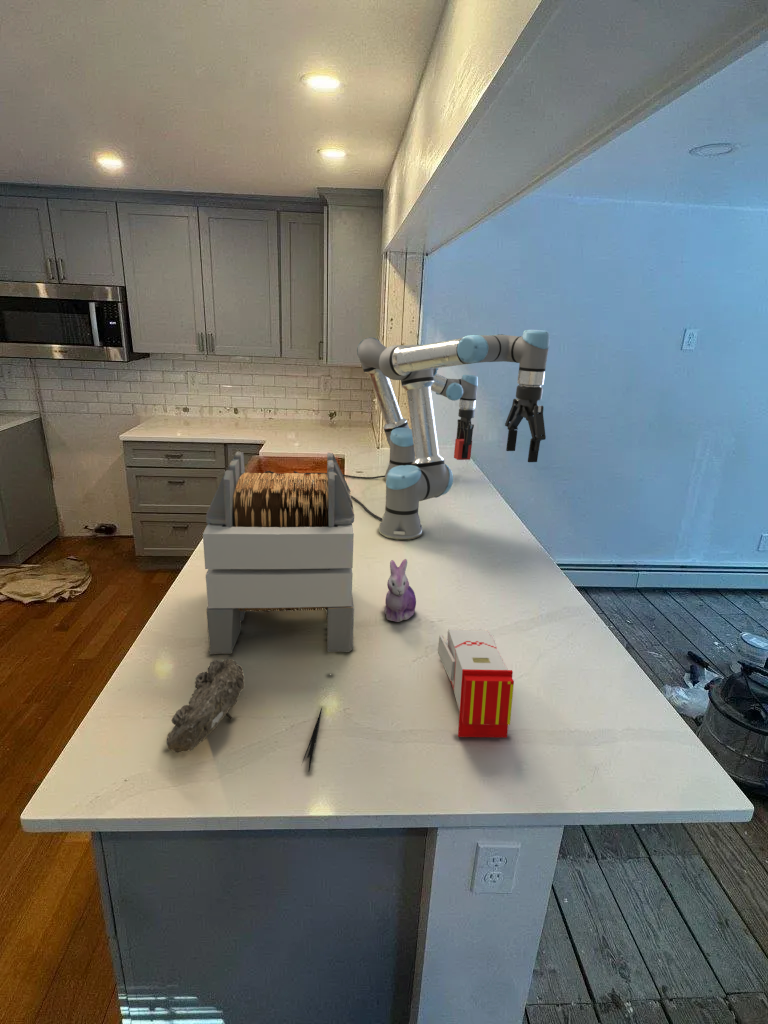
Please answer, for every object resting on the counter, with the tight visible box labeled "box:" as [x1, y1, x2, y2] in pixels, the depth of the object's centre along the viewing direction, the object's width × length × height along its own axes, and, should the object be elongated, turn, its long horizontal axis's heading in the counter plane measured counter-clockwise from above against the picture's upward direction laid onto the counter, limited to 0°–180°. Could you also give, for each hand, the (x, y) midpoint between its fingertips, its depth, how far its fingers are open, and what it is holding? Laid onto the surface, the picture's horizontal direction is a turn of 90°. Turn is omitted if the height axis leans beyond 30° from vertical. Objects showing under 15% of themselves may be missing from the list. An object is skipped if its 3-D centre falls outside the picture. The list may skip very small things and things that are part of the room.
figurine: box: [384, 558, 417, 623], centre depth 145 cm, size 9×10×15 cm
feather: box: [301, 673, 332, 771], centre depth 108 cm, size 2×28×2 cm
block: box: [453, 438, 473, 461], centre depth 273 cm, size 5×7×9 cm
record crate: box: [202, 451, 355, 655], centre depth 137 cm, size 34×33×41 cm
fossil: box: [166, 658, 245, 754], centre depth 106 cm, size 22×10×15 cm
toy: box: [437, 628, 515, 738], centre depth 117 cm, size 12×13×30 cm
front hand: (521, 456), depth 173 cm, fingers open, 13 cm apart
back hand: (462, 456), depth 274 cm, fingers closed on block, 5 cm apart
